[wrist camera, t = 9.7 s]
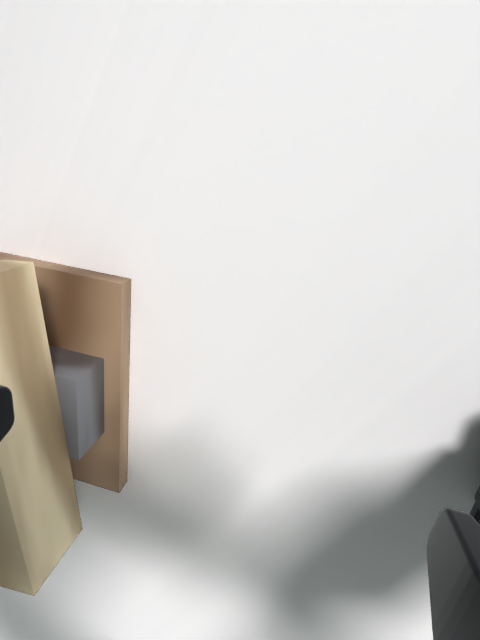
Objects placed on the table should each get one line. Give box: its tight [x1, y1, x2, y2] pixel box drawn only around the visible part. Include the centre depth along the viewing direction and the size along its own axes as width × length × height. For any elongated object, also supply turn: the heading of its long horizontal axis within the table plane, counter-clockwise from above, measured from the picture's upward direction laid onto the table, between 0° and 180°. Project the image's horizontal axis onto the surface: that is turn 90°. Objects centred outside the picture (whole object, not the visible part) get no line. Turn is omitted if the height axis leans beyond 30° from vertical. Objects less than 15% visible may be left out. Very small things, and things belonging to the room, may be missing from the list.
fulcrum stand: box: [0, 252, 131, 493], centre depth 22 cm, size 8×14×4 cm, turn 173°
